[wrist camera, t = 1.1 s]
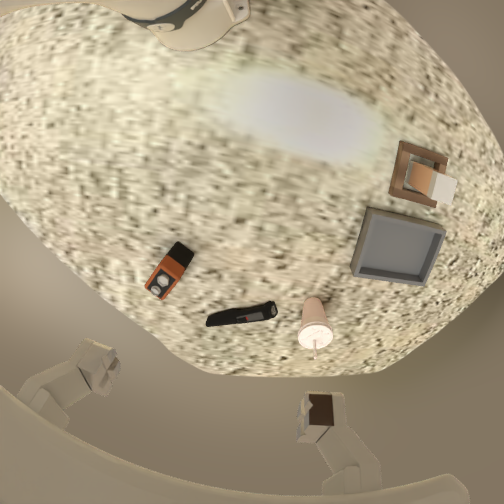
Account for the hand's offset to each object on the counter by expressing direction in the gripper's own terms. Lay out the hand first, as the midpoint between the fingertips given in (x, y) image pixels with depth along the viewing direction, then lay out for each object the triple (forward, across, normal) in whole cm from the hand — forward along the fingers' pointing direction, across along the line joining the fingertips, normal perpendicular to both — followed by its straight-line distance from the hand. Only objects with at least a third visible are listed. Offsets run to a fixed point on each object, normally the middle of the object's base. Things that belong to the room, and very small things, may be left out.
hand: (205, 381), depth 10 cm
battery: (+38, +15, +18) cm, 45 cm away
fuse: (+38, -25, -6) cm, 46 cm away
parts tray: (+38, -26, +8) cm, 47 cm away
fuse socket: (+38, -25, -6) cm, 46 cm away
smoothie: (+38, -13, +24) cm, 47 cm away
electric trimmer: (+38, +1, +29) cm, 48 cm away
